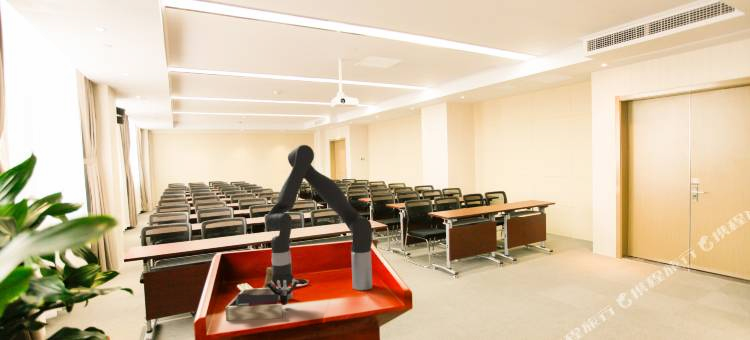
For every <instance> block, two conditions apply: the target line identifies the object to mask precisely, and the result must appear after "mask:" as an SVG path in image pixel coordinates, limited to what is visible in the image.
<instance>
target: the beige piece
mask: <svg viewBox="0 0 750 340" xmlns="http://www.w3.org/2000/svg"><path fill="white" fill-rule="evenodd" d="M291 287H292V286H288V290H290V288H291ZM276 288H277V289H278V287H276ZM283 291H284V290H283ZM238 294H250V295H269V294H274V293H273V292H272V290H271V289H270V288H263V287H260V288H258V287H256V288H242V289H241V291H240V292H239V293H238ZM238 294H236V296H235V297H234V298H233V299H232V300H231V301H230V302H229V303H228V304H227V305H226V306H225V307H224V308H225V320H226V321H238V320H239V321H241V320H242V321H243V320H245V321H246V320H265V319H267V320H268V319H282V318H283V309H282V306H283V305H282V304H281V303H277V304H268V305H244V306H236V297H237V296H238ZM292 299H293V292H292V293H291V294H289V295H288V300H292ZM278 301H280V296H279V295H278Z"/></svg>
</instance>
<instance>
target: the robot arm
mask: <svg viewBox="0 0 750 340" xmlns="http://www.w3.org/2000/svg"><path fill="white" fill-rule="evenodd" d="M314 159H315V152H314V149H313V148H312V147H310V146H309V145H308V144H301V145H299V146H297V147H295V148H294V149H293V150H291V151H290V152H289V153H288V155H287V160H288V161H287V162H288V163H289V165H290V166H291V168H292V169H291V171H290V173H289V174H288V176H287V179H286V180H285V182H283V183H284V184H283V185H282V187H281V189H280V192H279V193H278V197H277V199H276V202H275V203H274V205H273V207H271V209H270V211H269V212H268V214H267V216H266V218H265V226H266V228H267V229H268V230H270V231H277V232H279V233H278V235H275V236H274V237H272V238H271V241H270V243H271V267H272V271H273V277H272V280H271V281H270V282H268V284H267V286H268V287H269V288H270V289H271V290H272V292H273V293H274V294H278V295H279V296H280V300H279V301H280V303H279V304H282V306H286V305H287V304H288V302H289V299H288V295H289V294H291V293H292V294H293V292H294V290H295V288H296V287H297V285H299V284H298V282H299V280H295V279H294V275H293V270H292V255H291V248H290V238H291V232H292V228H293V218H292V216H291V214H289V213H286V212H288V211H292V210H293V208H294V206H295V202H296V200H297V198H298V194H299V190H300V188H301V186H302V183H303V181H304V180H305V181H306V182H307V183H308V184H309V185H310V186H311V187H312V188H313V190H314V191H315V192H316V193H317V194H318V195H319V197H320V198H321V199H322V200H323V202H324V203H326V205H327V206H329V208H330V209H331V210H332V211H334V212H335V214H337V215H338V216H339V217H340V218H341V219H342V221H343V222H344V224H345V225H346V227H347V228H348V230H349V231H350V233H352V235H351V236H352V244H351V245H350V252H351V253H350V254H351V257H350V258H351V274H352V275H351V277H352V289H354V290H355V291H356V290H357V291H368V290H372V289H373V271H372V269H373V268H372V266H373V265H372V245H373V233H372V232H373V231H372V230H373V229H372V228H373V227H372V223H371V222H370V221H371V220H369V219H368V218H366V217H364V216H362V215H361V214H360V213H359V212H358V211H357V210H356V209H355V207H353V206H352V205H351V203H350V202H349V200H348V198H347V196H346V195H345V193H344V191H343V190H342V189H341V188H340V187H339V185H338V184H337V183H336V182H335V181H334V180H333V179H331V178H329V177H328V176H326V175H324V174H322V173H321V172H319V171H318V170H317V169H315V167H314V166H313V165H312V163H313V161H314ZM291 281H292V286H290V283H291ZM288 287H291V288H290V290H288ZM277 288H278V289H277ZM283 290H284V291H283Z"/></svg>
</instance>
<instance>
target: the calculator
mask: <svg viewBox="0 0 750 340" xmlns="http://www.w3.org/2000/svg"><path fill="white" fill-rule="evenodd" d="M237 295H238V296H237ZM237 295H236V296H237V297H236V296H235V297H236V306H244V305H268V304H278V303H279V300H278V294H269V295H250V294H239V293H238V294H237Z"/></svg>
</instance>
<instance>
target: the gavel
mask: <svg viewBox="0 0 750 340" xmlns="http://www.w3.org/2000/svg"><path fill="white" fill-rule="evenodd" d="M272 277H273V271H272V266H269V267H268V266H267V268H266V275H265V280H264V284H263V286H262V288H269V287H268V286H267V284H268V282H270V281H271V280H272ZM293 278H294V277H293ZM294 279H295V280H299V282H298V284H297V285H307V284H310V281H309V280H306V279H304V278H297V277H295V278H294ZM290 284H292V281H291V283H290Z"/></svg>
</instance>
